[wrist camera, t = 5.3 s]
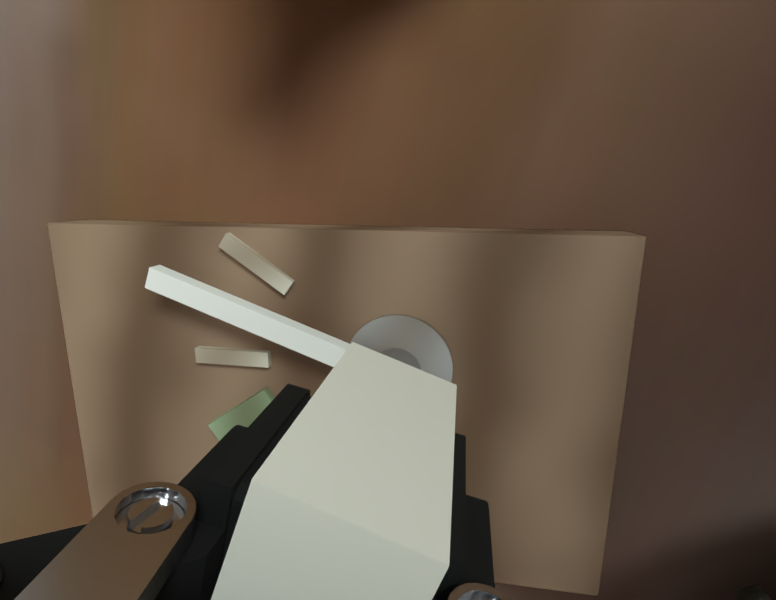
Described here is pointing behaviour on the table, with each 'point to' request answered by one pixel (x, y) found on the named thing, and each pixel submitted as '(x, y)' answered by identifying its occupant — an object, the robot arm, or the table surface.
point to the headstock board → (379, 333)
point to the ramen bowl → (751, 593)
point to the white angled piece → (340, 471)
